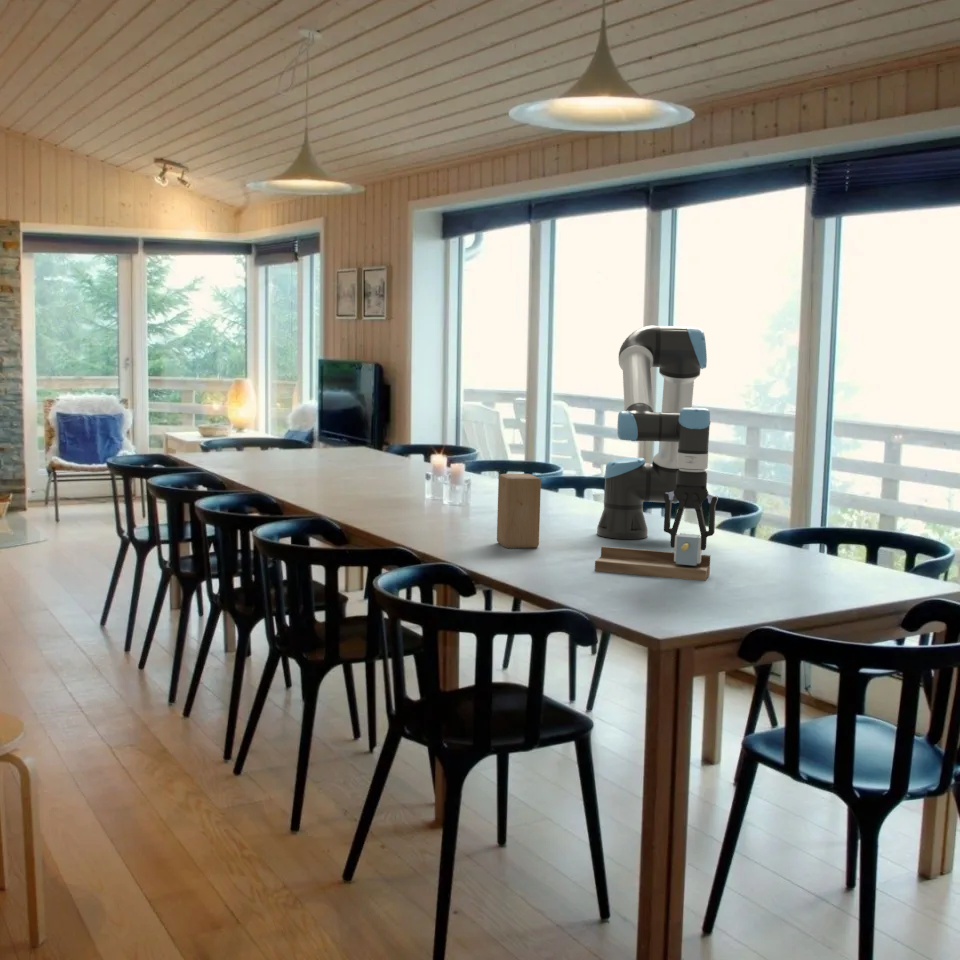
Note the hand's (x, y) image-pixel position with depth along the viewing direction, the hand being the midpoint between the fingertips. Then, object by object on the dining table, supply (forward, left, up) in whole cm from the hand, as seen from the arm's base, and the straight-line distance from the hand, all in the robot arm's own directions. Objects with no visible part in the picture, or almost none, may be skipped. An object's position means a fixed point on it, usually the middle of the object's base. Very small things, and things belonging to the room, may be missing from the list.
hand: (687, 561), depth 288 cm
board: (0, -9, -4) cm, 10 cm away
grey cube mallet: (+3, 0, 0) cm, 3 cm away
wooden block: (-21, -51, -4) cm, 55 cm away
